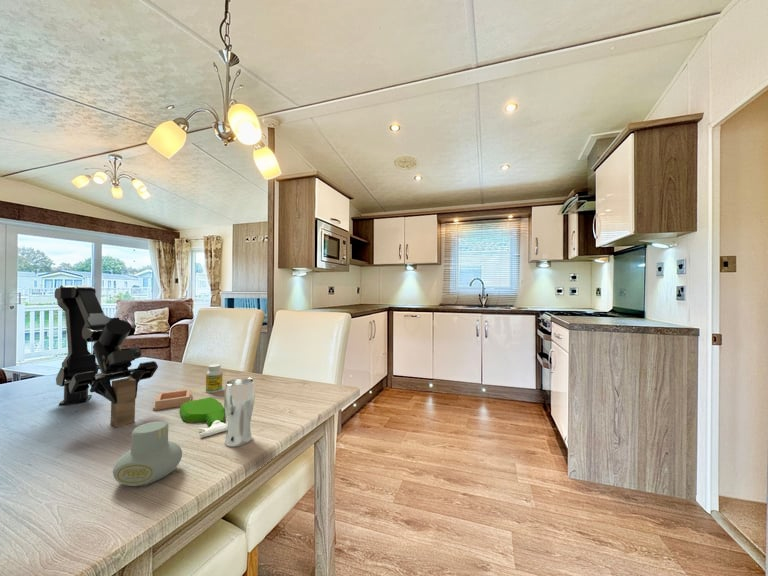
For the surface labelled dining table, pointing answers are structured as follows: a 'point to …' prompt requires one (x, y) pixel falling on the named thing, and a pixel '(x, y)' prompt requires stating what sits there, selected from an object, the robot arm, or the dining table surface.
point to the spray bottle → (205, 415)
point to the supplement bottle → (214, 379)
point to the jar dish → (172, 399)
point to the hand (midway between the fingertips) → (125, 400)
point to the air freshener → (148, 456)
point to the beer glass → (238, 410)
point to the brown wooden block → (123, 402)
